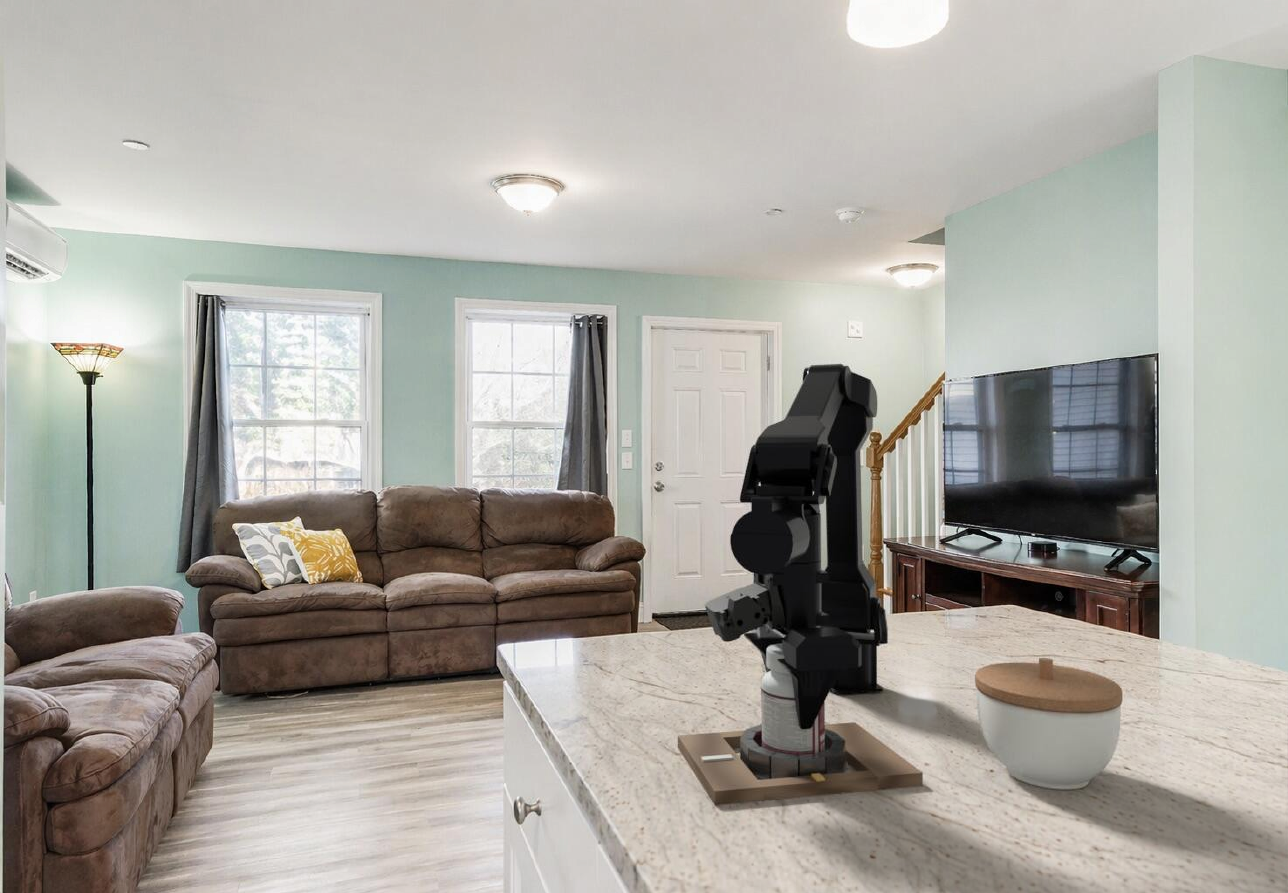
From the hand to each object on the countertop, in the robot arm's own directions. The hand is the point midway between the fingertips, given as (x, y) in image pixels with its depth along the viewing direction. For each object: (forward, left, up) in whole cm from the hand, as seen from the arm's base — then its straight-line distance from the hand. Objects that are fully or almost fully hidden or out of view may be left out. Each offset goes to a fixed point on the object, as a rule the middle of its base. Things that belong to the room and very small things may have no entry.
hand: (792, 717), depth 80 cm
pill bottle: (0, 0, -5) cm, 5 cm away
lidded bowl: (-23, +7, -5) cm, 24 cm away
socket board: (0, 0, -5) cm, 5 cm away
